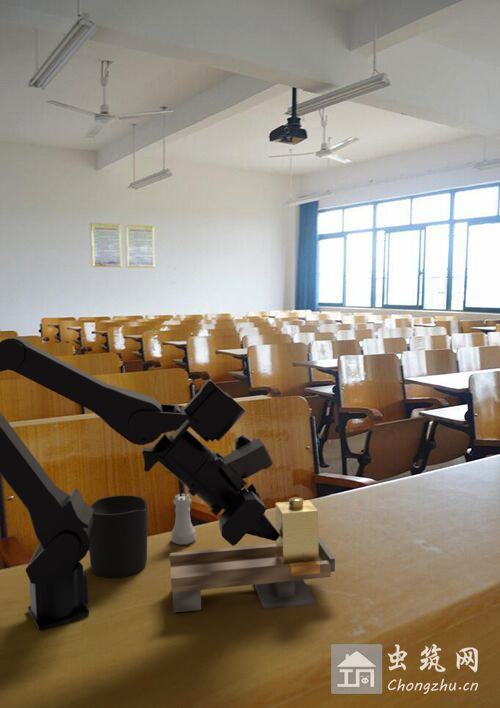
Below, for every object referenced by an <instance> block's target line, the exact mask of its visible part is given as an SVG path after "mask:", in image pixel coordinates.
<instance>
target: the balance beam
mask: <svg viewBox="0 0 500 708" xmlns="http://www.w3.org/2000/svg"><path fill="white" fill-rule="evenodd" d="M318 550H319V561H311V562H301V563H290V564H284V565H281V564H280V562H279V560H278V558H277V547H276V543H268V544H257V545H255V544H254V545H247V546H246V545H245V546H235V547H234V546H232V547H224V548H213V549H212V548H211V549H200V550H199V549H198V550H189V551H187V550H186V551H178V552H176V551H175V552H170V553H169V565H170V586H171V594H172V603H173V604H172V605H173V613H182V612H191V611H193V612H194V611H200V610H202V601H201V600H202V595H201V594H202V593H201V592H202V591H205V590H212V589H213V590H214V589H222V588H233V587H242V586H254V587H255V590H256V592H257V596H258V599H259V602H260V603H261V607H262V609H263V610H269V609H278V608H279V609H280V608H286V607H297V606H306V605H314V604H315V599H314V596H313V595H312V593H311V591H310V590H309V587H308V586H307V585H306V582H305V581H304V580H313V579H323V578H331V577H332V575H331V574H332V572H333V573H334V572H335V571H336V559H335V557H334V556H333V554H332V552H331V551H330V550H329V549H328V547H327V546H326V544H325V543H324V542H323V541H322V539H321V538H320V536H318Z"/></svg>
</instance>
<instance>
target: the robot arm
mask: <svg viewBox="0 0 500 708" xmlns="http://www.w3.org/2000/svg"><path fill="white" fill-rule="evenodd" d="M8 370H9V371H13V372H15V373H16V374H18V375H21V376H22V377H24V378H27V379H28V380H29V381H33V382H34V383H36V384H38V385H41V386H42V387H44V388H46V389H48V390H50V391H51V392H54V393H56V394H58V395H60V396H61V397H64V398H66V399H67V400H70V401H72V402H74V403H76V404H78V405H79V406H82V407H84V408H85V409H87V410H89V411H91V412H92V413H93V414H95V415H97V417H99V418H100V419H101V420H102V421H103V422H104V423H106V424H107V426H108V427H110V428H111V429H112V430H114V432H116V433H117V434H119V435H120V436H122V437H123V438H124V439H126V440H127V441H128V442H130V443H132V444H133V445H138V446H144V445H148V444H152V443H153V442H156V443H154V445H153V446H150V447H143V448H142V449H141V450H142V451H141V454H142V457H143V460H144V461H143V462H144V463H143V464H144V465H143V466H144V467H143V470H144V471H145V472H147V473H148V472H150V471H151V470H152V468H154V466H155V465H156V464H157V463H160V465H162V466H163V468H165V469H166V470H167V471H168V472H170V473H171V474H172V475H173V476H174V477H175V478H177V479H178V480H179V481H180V482H181V483H182V484H183V485H185V487H187V492H188V493H189V494H190V495H191V496H193V497H195V496H197V497H199V499H200V500H202V501H203V502H204V503H205V504H206V505H207V506H209V510H210V512H211V513H212V514H213V515H215V517H216V516H218V515H219V513H220V512H222V510H224V511H223V512H222V513H221V514H220V515H219V517H218V527H219V532H220V535H221V537H222V538H223V539H224V540H225V541H226V542H228V543H229V544H230V545H231V546H232V547H234V546H236V545H238V543H240V541H241V540H242V539H243V538H244V537H245V536H246V535H250V536H255V537H259V538H261V539H265V540H270V541H274V542H276V540H277V539H278V538H279V537H280V535H279V533H278V531H277V530H276V526H274V525H273V523H272V521H270V519H269V518H268V517H267V515H266V514H265V513H266V510H267V507H266V505H265V503H264V502H263V500H262V497H261V495H260V494H259V492H258V491H257V488H256V487H255V485H254V483H251V484H250V485H249V486H248V487H245V486H246V485H247V483H248V482H247V481H246V480H245V479H247V478H250V477H251V476H253V475H255V474H257V473H259V472H261V471H263V470H268V469H269V468H270V467H272V466H273V464H274V461H273V459H272V458H271V455H270V454H269V451H268V450H267V447H266V446H265V443H264V442H263V441H262V440H261V438H256V437H254V438H252V440H251V439H250V438H249V437H247V436H246V435H244V434H241V435H240V436H238V437H236V438H235V439H234V449H232V450H230V453H228V454H226V455H225V456H223V455H222V454H221V453H220V452H218V451H212V450H210V449H209V448H208V447H207V446H206V445H205V444H203V442H201V440H199V439H198V438H197V437H196V436H195V435H194V434H192V433H191V432H190V431H189V430H188V429H189V428H191V430H193V431H194V432H195V433H196V434H197V435H198V436H199V437H200V438H201V439H203V440H204V441H205V442H206V443H209V442H210V441H211V442H214V441H215V440H216V441H217V442H220V441H221V440H222V439H223V437H224V436H225V435H226V434H227V433H229V431H230V430H231V429H232V427H233V426H235V424H236V423H238V421H239V420H240V419H241V418H242V417H243V415H245V413H247V410H246V409H245V408H244V407H243V406H242V405H240V404H239V402H238V401H236V400H235V399H234V398H233V397H232V396H231V395H230V394H229V393H227V392H226V391H223V389H221V388H220V387H219V386H218V385H217V384H216V383H215V382H213V381H212V380H211V379H207V380H206V381H205V382H204V383H203V384H202V386H201V387H200V389H199V391H198V392H197V393H196V394H195V395H194V396H193V397H192V398H191V399H190V400H189V402H188V403H187V404H186V405H179V404H167V403H166V404H165V403H160V401H159V400H157V399H156V398H154V397H152V396H149V395H147V394H144V393H141V392H137V391H134V390H131V389H127V388H124V387H119V386H115V385H112V384H109V383H106V382H104V381H103V380H101V379H98V378H96V377H95V376H93V375H91V374H89V373H87V372H86V371H83V370H81V369H79V368H77V367H76V366H73V365H72V364H70V363H69V362H66V361H64V360H62V359H60V358H58V357H57V356H55V355H52V354H51V353H48V352H46V350H43V349H41V348H40V347H37V346H35V345H33V344H32V343H31V342H30V341H29V340H28V339H27V338H26V339H25V338H23V337H8V338H5V339H2V340H1V341H0V372H4V371H8ZM173 431H174V432H173ZM170 432H173V433H171V434H170ZM162 434H163V435H162ZM159 437H160V438H159ZM158 439H159V440H158ZM0 475H1V477H2V479H3V480H4V481H5V483H6V484H7V485H8V486H9V488H11V490H12V492H13V493H14V494H15V495H16V497H17V498H18V499H19V500H20V501H21V503H22V505H23V506H24V507H25V508H26V510H27V512H28V515H29V518H30V522H31V524H32V528H33V532H34V535H35V536H36V539H37V541H38V543H39V544H38V546H37V547H36V549H35V552H34V553H33V555H32V557H31V558H30V560H29V562H28V564H27V566H26V568H25V572H26V574H27V577H28V579H29V590H30V591H29V592H30V605H29V606H28V607H27V612H28V613H29V615H30V617H31V619H32V620H33V622H34V623H35V625H36V627H37V629H38V630H40V631H42V630H47V629H50V628H52V627H56V626H60V625H62V624H65V623H69V622H71V621H74V620H77V619H81V618H83V617H87V616H89V615H90V610H89V608H88V607H87V605H88V604H89V603H90V601H89V583H88V582H89V581H88V575H87V574H86V572H85V571H84V565H83V564H82V563H81V561H82V560H83V559H84V558H85V557H86V556H87V554H88V553H89V547H90V544H91V540H92V537H93V534H94V529H95V521H94V518H93V516H92V515H93V512H94V509H93V508H92V507H91V505H89V504H88V503H87V502H86V501H85V499H84V498H83V495H82V494H81V492H80V490H79V489H78V488H74V489H73V490H72V491H71V492H70V493H67V492H66V491H64V490H63V489H61V488H59V487H58V486H57V485H56V484H55V483H54V481H53V480H52V479H51V477H50V476H49V475H48V474H47V473H46V471H45V470H44V469H43V467H42V466H41V464H40V463H39V462H38V460H37V459H36V457H35V456H34V455H33V453H32V452H31V451H30V450H29V448H28V447H27V446H26V445H25V443H24V442H23V440H22V439H21V438H20V436H19V435H18V434H17V432H16V431H15V429H14V428H13V427H12V425H11V424H10V423H9V422H8V420H7V419H6V418H5V416H4V415H3V414H2V412H1V411H0Z"/></svg>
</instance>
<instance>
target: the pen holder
mask: <svg viewBox="0 0 500 708" xmlns="http://www.w3.org/2000/svg"><path fill="white" fill-rule="evenodd" d="M90 507H92V508H93V509H94V512H93V515H92V516H93V518H94V521H95V529H94V534H93V537H92V540H91V544H90V547H89V550H88V553H89V564H90V569H91V571H92V573H94V574H95V575H96V576H99V577H102V578H108V579H110V578H111V579H115V578H123V577H128V576H131V575H134V574H137V573H139V572H140V571H142V570H143V569H144V567H145V566H146V564H147V563H148V561H147V560H148V503H147V500H146V499H145V498H143V497H141V496H138V495H131V494H129V495H128V494H123V495H122V494H121V495H110V496H105V497H101V498H99V499H97V500H96V501H95V502H92V504H91V505H90Z"/></svg>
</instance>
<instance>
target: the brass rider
mask: <svg viewBox="0 0 500 708" xmlns="http://www.w3.org/2000/svg"><path fill="white" fill-rule="evenodd" d="M275 529H276V530H277V531H278V533H279V535H280V537H279V538H278V539H277V540H276V541H275V544H276V547H277V558H278V560H279V562H280V564H281V565H284V564H290V563H301V562H311V561H319V550H318V537H319V511H318V509H317V508H316V507H315V505H314V503H312V502H311V501H310V500H309V499H307V500H304V498H302V497H291V498H289V499H288V501H283V502H281V501H279V502H275Z"/></svg>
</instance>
